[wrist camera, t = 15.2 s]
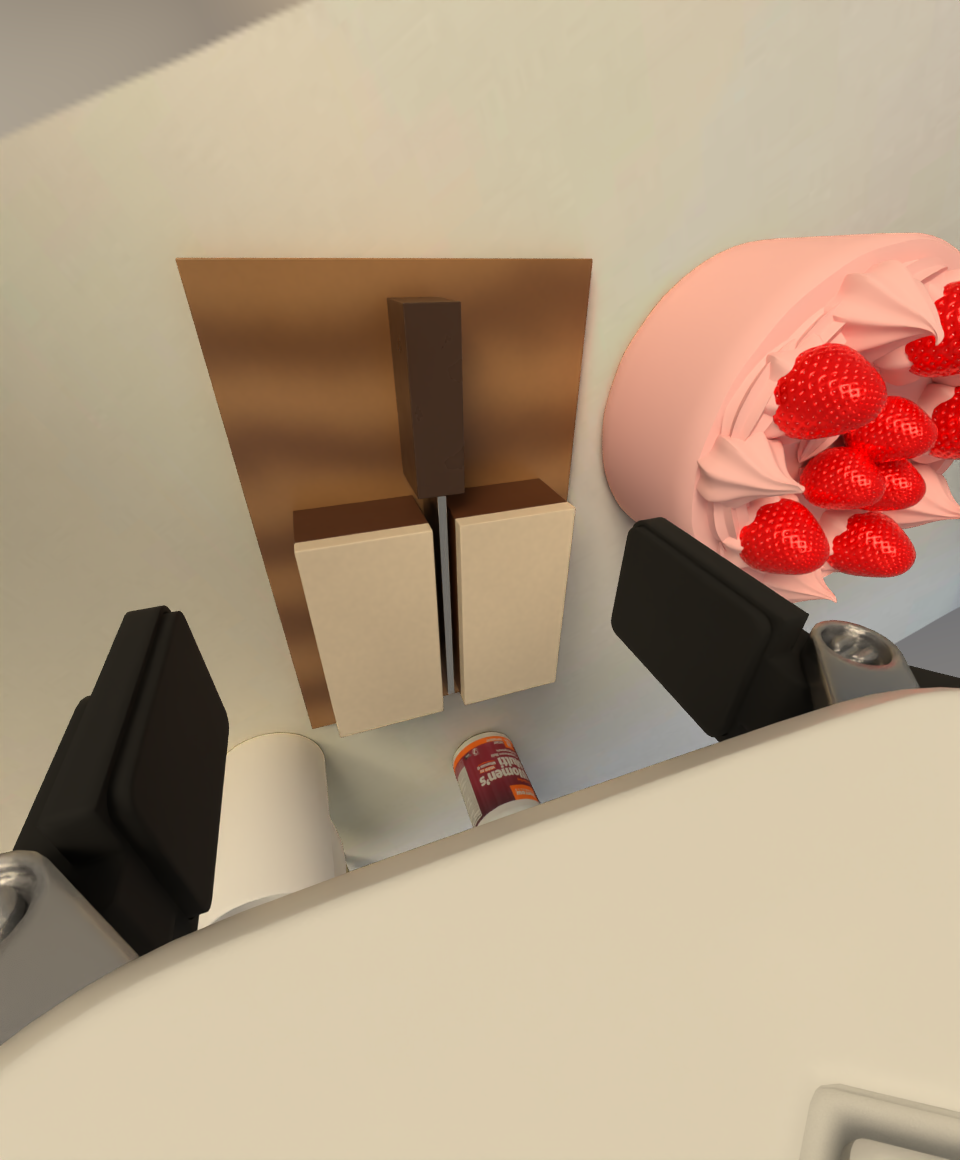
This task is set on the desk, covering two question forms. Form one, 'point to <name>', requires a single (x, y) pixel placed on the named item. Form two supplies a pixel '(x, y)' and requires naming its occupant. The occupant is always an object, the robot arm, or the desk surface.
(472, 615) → the cake
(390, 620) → the cake
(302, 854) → the mug
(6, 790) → the desk surface
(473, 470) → the cake board
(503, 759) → the pill bottle
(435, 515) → the knife
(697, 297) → the cake
